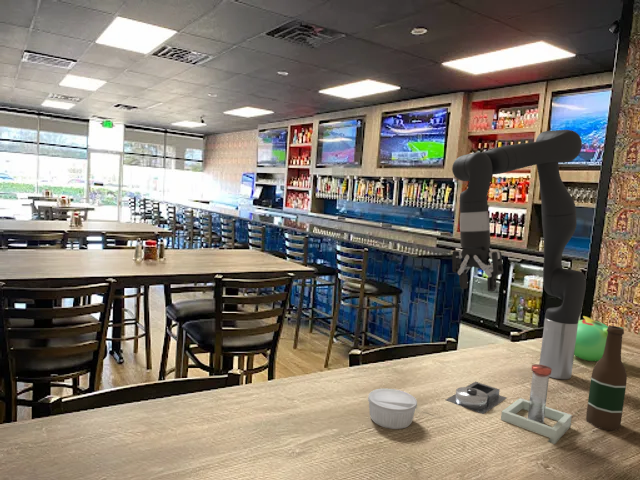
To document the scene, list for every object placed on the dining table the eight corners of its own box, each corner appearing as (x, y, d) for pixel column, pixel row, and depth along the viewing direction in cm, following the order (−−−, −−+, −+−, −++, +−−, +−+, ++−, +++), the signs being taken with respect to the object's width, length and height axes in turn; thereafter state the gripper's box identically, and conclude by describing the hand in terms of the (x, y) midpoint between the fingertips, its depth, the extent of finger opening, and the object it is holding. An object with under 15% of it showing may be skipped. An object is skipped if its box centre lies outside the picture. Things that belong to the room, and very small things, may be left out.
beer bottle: (627, 433, 113) (641, 333, 111) (590, 428, 114) (604, 329, 112) (613, 419, 120) (626, 325, 118) (580, 414, 122) (592, 321, 120)
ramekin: (384, 435, 103) (386, 411, 103) (356, 413, 113) (358, 391, 112) (425, 427, 108) (427, 404, 108) (395, 406, 118) (397, 385, 118)
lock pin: (529, 416, 116) (535, 363, 115) (547, 423, 114) (553, 368, 112) (523, 422, 113) (529, 367, 112) (541, 428, 110) (548, 372, 109)
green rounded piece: (567, 348, 181) (572, 310, 180) (619, 360, 171) (625, 319, 170) (558, 359, 167) (563, 317, 165) (615, 372, 157) (621, 328, 156)
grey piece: (470, 389, 133) (471, 374, 132) (506, 401, 126) (508, 385, 126) (444, 403, 122) (446, 387, 121) (482, 418, 115) (484, 401, 115)
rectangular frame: (518, 409, 122) (520, 397, 122) (570, 427, 114) (571, 415, 114) (500, 423, 113) (501, 411, 113) (554, 444, 105) (556, 430, 105)
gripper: (507, 227, 124) (509, 290, 125) (461, 228, 136) (464, 285, 137) (489, 229, 120) (492, 294, 121) (444, 230, 132) (447, 289, 132)
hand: (477, 289), depth 129 cm, fingers open, 8 cm apart
